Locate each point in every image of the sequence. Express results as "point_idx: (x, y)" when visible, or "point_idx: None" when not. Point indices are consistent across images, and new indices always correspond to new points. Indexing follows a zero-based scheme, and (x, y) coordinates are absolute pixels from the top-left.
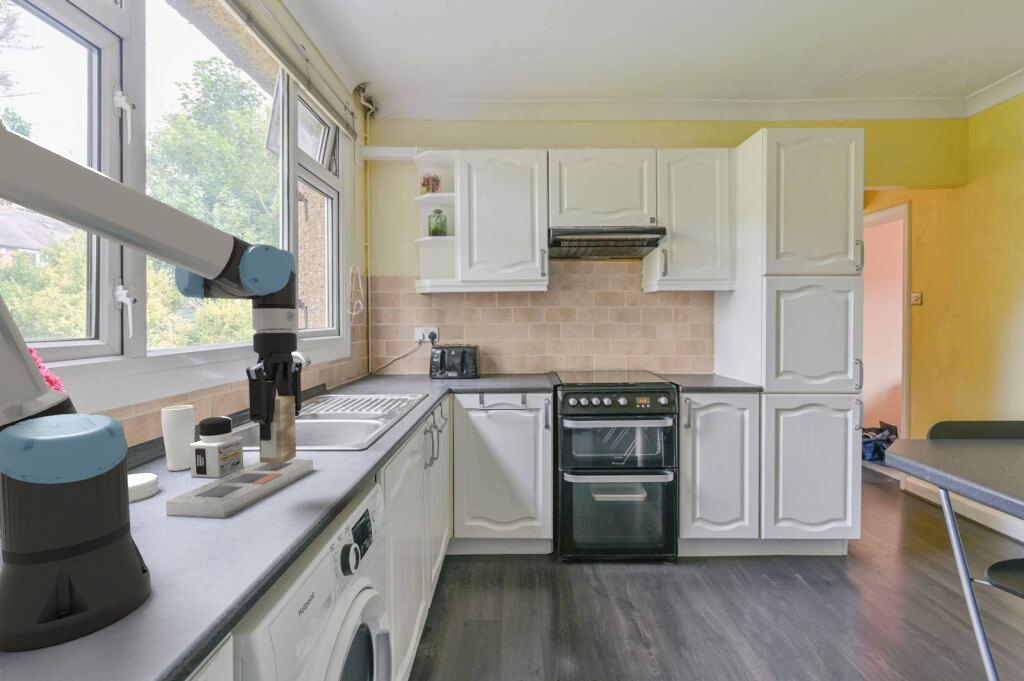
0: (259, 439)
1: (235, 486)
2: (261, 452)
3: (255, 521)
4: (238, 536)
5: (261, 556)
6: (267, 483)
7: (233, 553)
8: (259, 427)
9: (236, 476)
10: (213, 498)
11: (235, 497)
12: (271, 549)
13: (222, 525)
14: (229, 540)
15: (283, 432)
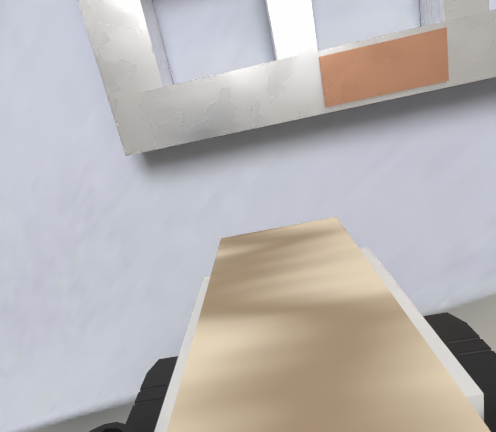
0: (204, 298)
1: (270, 17)
2: (200, 289)
3: (163, 250)
4: (89, 282)
5: (58, 389)
6: (343, 109)
7: (38, 336)
8: (188, 359)
9: None
10: (145, 65)
11: (183, 136)
12: (84, 386)
13: (109, 191)
14: (67, 281)
15: None
